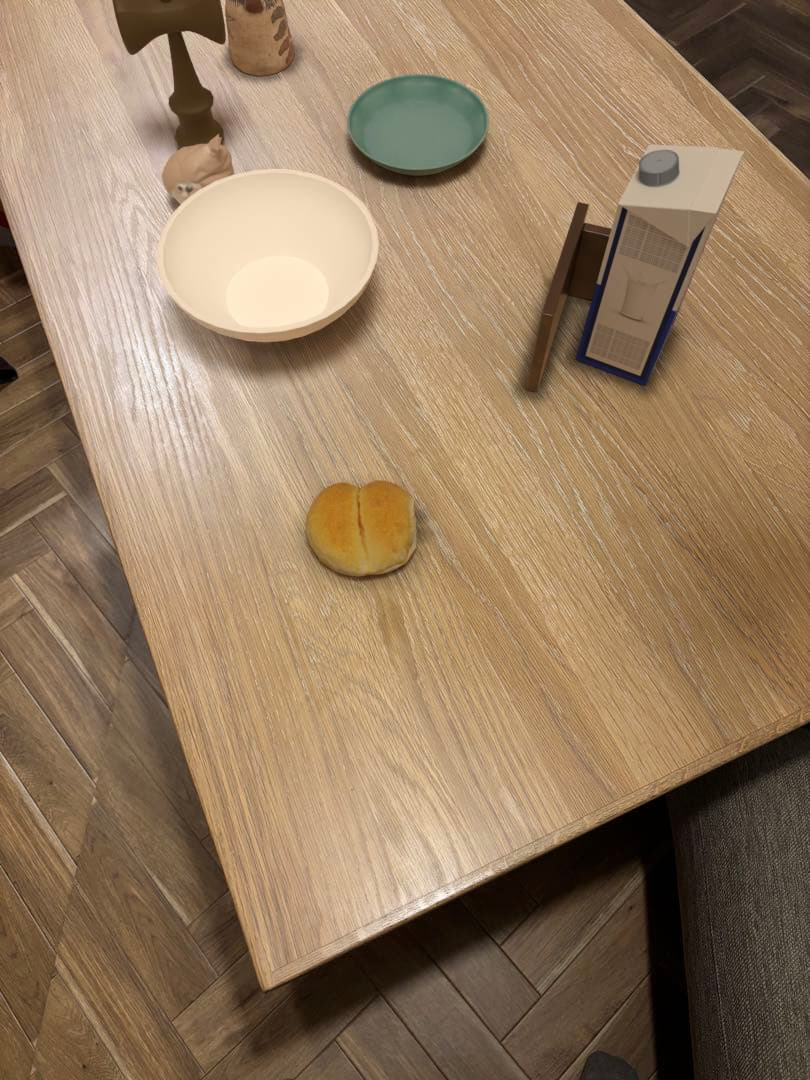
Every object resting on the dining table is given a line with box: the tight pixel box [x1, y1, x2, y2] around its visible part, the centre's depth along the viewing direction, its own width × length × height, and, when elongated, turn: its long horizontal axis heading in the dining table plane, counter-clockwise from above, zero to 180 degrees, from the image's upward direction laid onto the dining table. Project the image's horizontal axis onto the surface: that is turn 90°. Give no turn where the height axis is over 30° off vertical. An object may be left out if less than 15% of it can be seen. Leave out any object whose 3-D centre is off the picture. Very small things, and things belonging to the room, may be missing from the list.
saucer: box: [346, 73, 490, 177], centre depth 91 cm, size 15×15×3 cm
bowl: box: [156, 168, 380, 343], centre depth 79 cm, size 20×20×7 cm
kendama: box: [111, 0, 227, 149], centre depth 83 cm, size 6×10×20 cm, turn 103°
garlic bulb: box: [161, 134, 235, 205], centre depth 84 cm, size 7×6×8 cm
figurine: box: [224, 0, 295, 77], centre depth 93 cm, size 7×7×12 cm
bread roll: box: [305, 480, 418, 577], centre depth 69 cm, size 8×9×4 cm
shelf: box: [525, 201, 612, 393], centre depth 75 cm, size 10×13×10 cm
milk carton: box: [575, 144, 745, 387], centre depth 70 cm, size 7×7×20 cm
